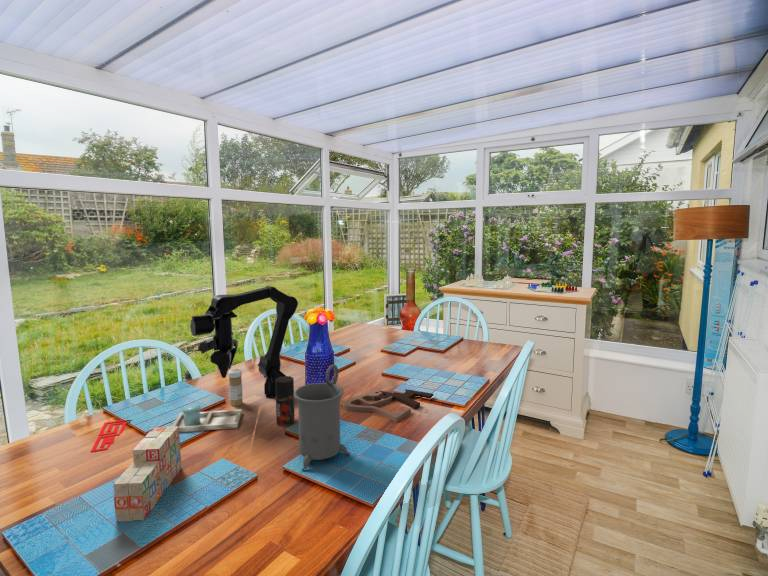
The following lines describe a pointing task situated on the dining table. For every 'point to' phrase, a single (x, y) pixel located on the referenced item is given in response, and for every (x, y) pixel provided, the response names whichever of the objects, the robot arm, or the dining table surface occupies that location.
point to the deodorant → (284, 400)
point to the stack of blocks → (148, 474)
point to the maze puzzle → (108, 440)
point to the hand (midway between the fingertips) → (226, 373)
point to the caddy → (211, 421)
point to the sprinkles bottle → (235, 387)
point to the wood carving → (383, 399)
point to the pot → (191, 414)
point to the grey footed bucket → (319, 419)
